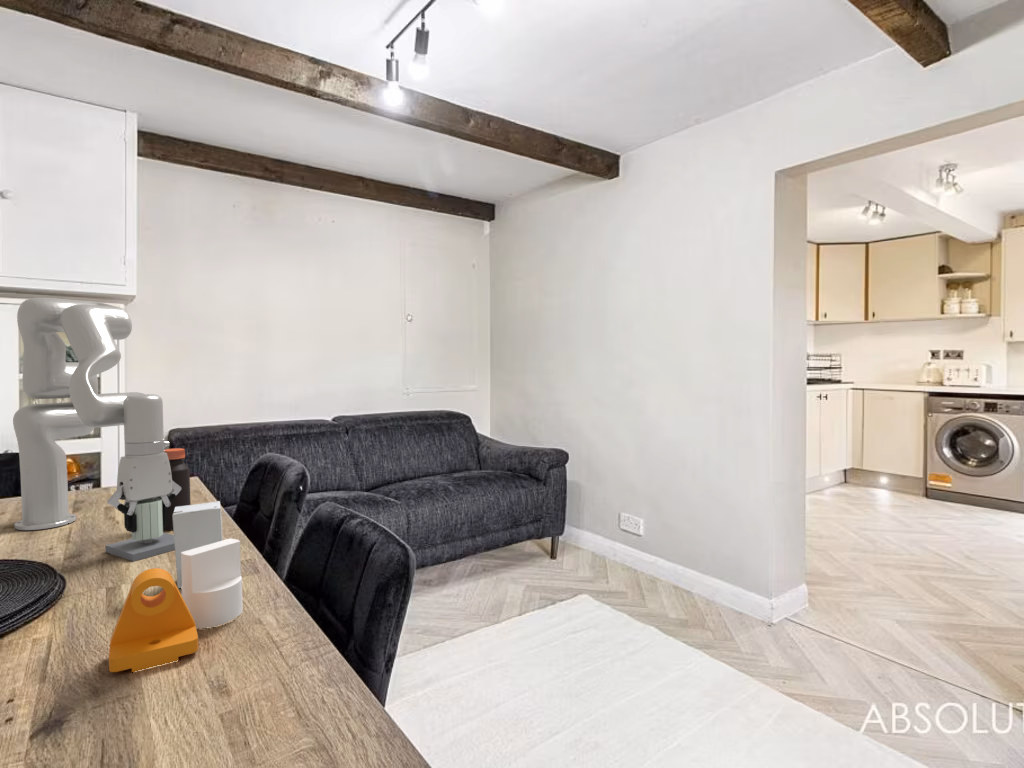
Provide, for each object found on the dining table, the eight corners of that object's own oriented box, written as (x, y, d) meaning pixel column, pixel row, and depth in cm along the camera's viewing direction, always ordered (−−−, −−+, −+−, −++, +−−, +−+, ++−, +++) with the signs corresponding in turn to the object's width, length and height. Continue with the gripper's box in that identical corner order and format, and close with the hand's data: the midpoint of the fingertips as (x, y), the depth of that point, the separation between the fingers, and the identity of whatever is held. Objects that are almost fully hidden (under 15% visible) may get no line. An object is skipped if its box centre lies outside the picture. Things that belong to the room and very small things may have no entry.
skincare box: (224, 572, 117) (222, 500, 117) (224, 582, 112) (222, 506, 111) (177, 579, 114) (174, 504, 113) (174, 590, 108) (172, 512, 108)
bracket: (109, 679, 78) (106, 592, 78) (111, 656, 84) (108, 575, 84) (199, 657, 84) (196, 576, 84) (194, 637, 90) (192, 561, 90)
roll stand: (105, 551, 130) (104, 516, 129) (160, 537, 140) (159, 504, 140) (133, 561, 124) (132, 524, 123) (189, 545, 134) (188, 511, 134)
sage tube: (126, 537, 131) (125, 502, 130) (154, 530, 136) (153, 496, 136) (140, 541, 128) (139, 505, 127) (168, 534, 133) (167, 499, 132)
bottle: (154, 528, 147) (152, 450, 146) (178, 521, 154) (176, 447, 153) (173, 531, 145) (170, 452, 144) (197, 524, 151) (195, 448, 150)
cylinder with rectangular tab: (202, 634, 91) (199, 559, 90) (171, 620, 96) (169, 549, 95) (253, 613, 99) (252, 543, 98) (223, 601, 103) (221, 535, 103)
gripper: (174, 442, 140) (176, 516, 141) (93, 453, 125) (96, 535, 126) (191, 445, 136) (193, 520, 137) (110, 456, 122) (113, 540, 122)
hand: (147, 526), depth 132 cm, fingers closed on sage tube, 6 cm apart
